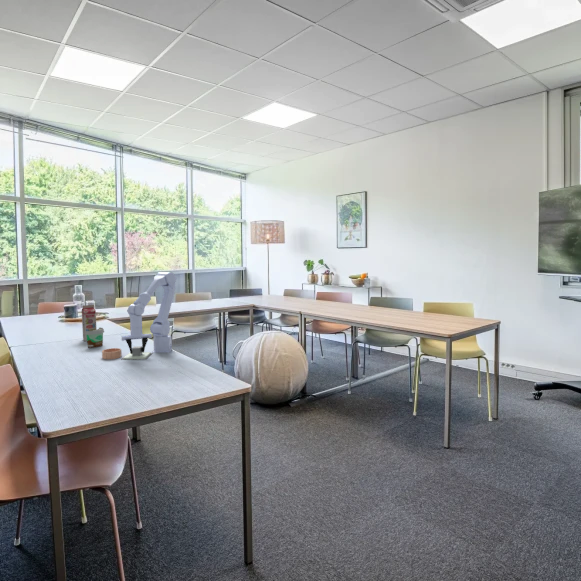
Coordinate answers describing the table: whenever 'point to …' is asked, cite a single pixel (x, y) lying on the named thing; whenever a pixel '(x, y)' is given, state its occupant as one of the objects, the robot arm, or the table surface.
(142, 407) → the table surface
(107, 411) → the table surface
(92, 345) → the food container
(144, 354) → the sheet lid
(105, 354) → the tan bowl
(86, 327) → the juice carton
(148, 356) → the mat
